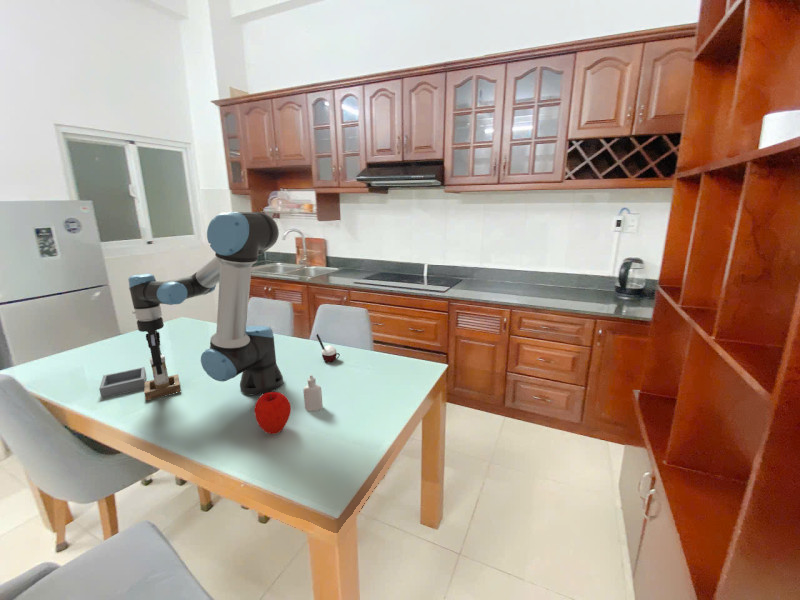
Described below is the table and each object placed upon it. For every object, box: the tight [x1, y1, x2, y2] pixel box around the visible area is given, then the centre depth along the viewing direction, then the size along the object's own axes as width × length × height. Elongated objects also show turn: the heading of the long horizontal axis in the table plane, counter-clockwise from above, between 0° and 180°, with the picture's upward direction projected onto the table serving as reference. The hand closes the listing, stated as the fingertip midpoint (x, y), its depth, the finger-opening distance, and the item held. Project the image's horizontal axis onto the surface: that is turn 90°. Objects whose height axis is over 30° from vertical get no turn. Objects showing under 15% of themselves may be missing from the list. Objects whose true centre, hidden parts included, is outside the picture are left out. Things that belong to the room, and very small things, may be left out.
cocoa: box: [316, 333, 340, 363], centre depth 154 cm, size 10×6×12 cm, turn 64°
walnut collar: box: [143, 374, 182, 401], centre depth 131 cm, size 11×11×3 cm
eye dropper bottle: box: [303, 374, 324, 412], centre depth 116 cm, size 4×6×12 cm
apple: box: [253, 391, 292, 435], centre depth 104 cm, size 10×10×12 cm
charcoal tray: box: [99, 366, 147, 399], centre depth 135 cm, size 13×13×4 cm
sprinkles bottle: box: [149, 354, 169, 389], centre depth 129 cm, size 5×5×13 cm
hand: (161, 378), depth 130 cm, fingers closed on sprinkles bottle, 4 cm apart
